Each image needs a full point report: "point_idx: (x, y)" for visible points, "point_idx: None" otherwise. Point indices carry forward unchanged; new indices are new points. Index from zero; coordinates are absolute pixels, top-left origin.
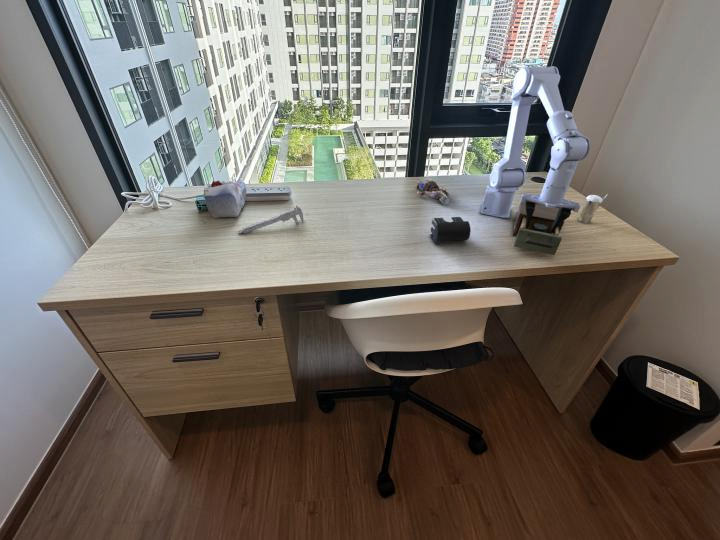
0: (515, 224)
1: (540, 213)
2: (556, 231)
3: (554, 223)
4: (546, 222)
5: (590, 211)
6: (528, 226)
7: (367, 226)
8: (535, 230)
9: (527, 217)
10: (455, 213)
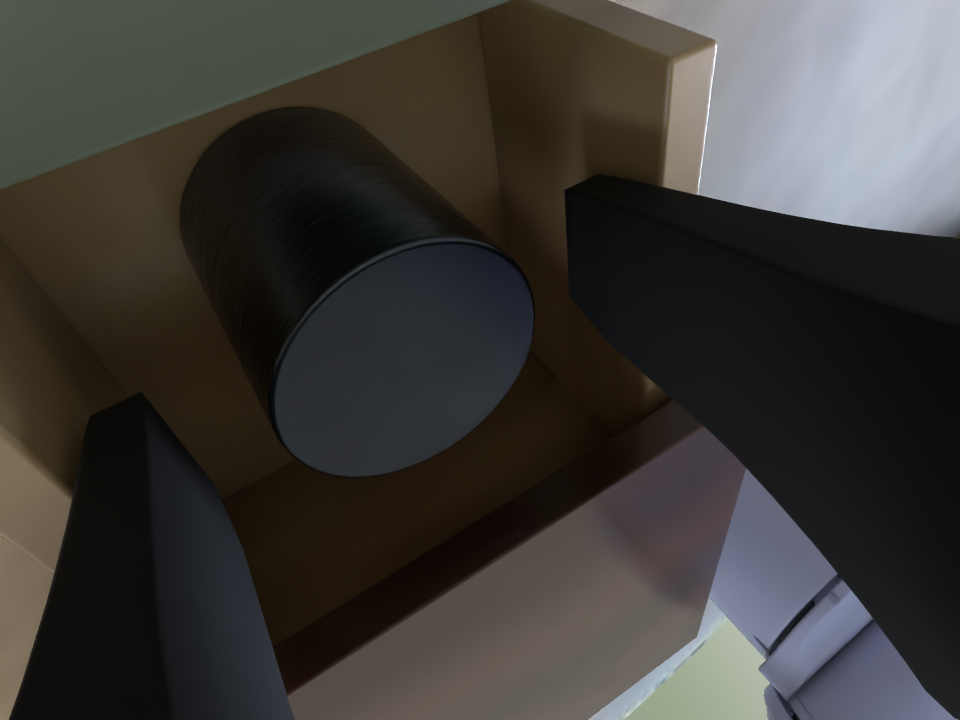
0: None
1: (528, 615)
2: (10, 469)
3: (218, 607)
4: (361, 577)
5: None
6: (595, 194)
7: None
8: (434, 204)
9: (851, 231)
10: (927, 174)
